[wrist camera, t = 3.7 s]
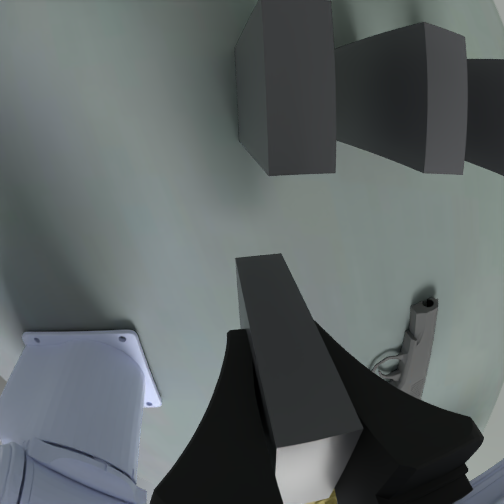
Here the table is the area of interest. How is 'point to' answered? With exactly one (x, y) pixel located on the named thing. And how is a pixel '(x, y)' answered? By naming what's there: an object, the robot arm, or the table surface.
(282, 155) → the domino
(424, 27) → the domino
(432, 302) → the handgun
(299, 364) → the domino
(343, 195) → the table surface
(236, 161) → the table surface
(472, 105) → the domino end
